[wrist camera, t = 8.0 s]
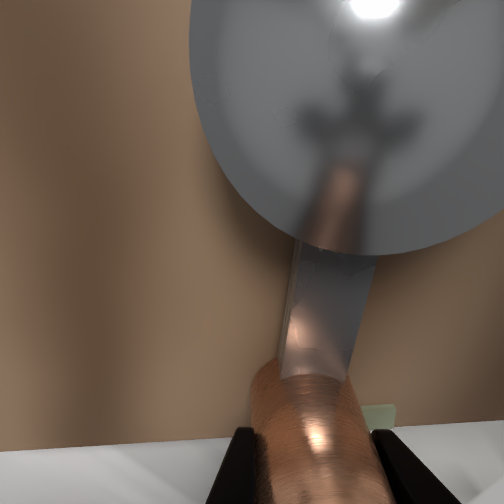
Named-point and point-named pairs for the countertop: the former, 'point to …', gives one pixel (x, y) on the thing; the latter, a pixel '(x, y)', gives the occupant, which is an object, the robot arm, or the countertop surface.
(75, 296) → the stand
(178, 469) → the countertop surface
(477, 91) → the grey ball copper handle
